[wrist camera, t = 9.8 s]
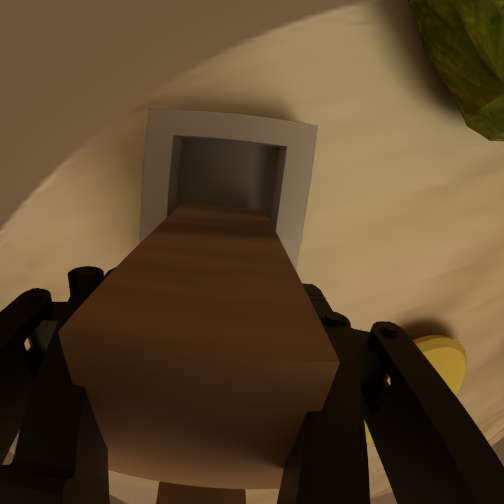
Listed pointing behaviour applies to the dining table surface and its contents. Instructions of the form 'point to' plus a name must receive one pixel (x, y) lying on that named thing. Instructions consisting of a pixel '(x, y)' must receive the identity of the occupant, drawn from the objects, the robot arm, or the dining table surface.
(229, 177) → the brown blocky pieces
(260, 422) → the brown tall block
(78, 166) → the dining table surface
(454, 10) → the lettuce
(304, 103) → the dining table surface
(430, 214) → the dining table surface
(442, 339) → the yellow curved piece
